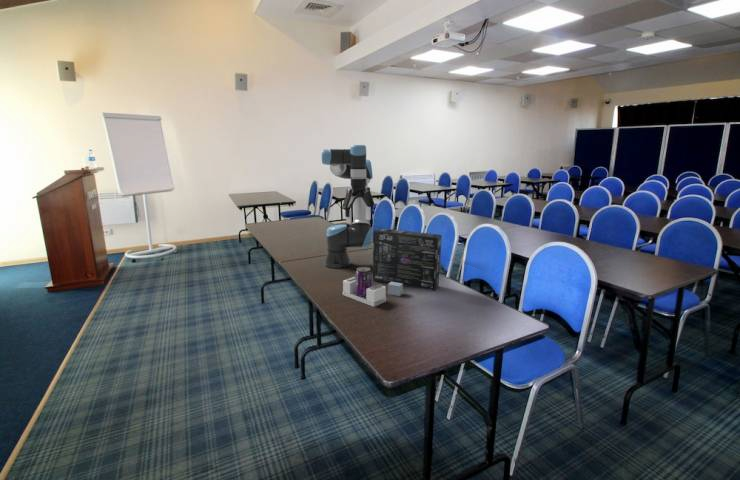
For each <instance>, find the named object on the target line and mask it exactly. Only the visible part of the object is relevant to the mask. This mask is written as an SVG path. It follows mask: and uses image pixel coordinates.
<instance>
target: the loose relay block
mask: <svg viewBox="0 0 740 480" xmlns="http://www.w3.org/2000/svg"><path fill="white" fill-rule="evenodd" d="M403 294H404V285H403V284H402V283H397V282H390V283H387V295H390V296H395V297H401V296H402V295H403Z"/></svg>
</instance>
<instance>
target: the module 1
mask: <svg viewBox="0 0 740 480" xmlns="http://www.w3.org/2000/svg"><path fill="white" fill-rule="evenodd" d="M342 288H343V289H342V292H343V291H345V292H348V293H352V292H355V291H356V276H353V277H350V278H349V277H348V278H347V279H344V280H342Z"/></svg>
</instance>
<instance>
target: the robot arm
mask: <svg viewBox="0 0 740 480" xmlns="http://www.w3.org/2000/svg"><path fill="white" fill-rule="evenodd" d="M321 162H322V164H323V165H326V166H329V169H330V173H332V174H333V175H334V176H335V177H338V178H341V179H344V180H345V179H346V180H347V179H348V180H350V186H351V189H350V188H346V194H345V197H344V200H343V203H342V206H341V210H344V211H345V213H344V216H345V217H346V218H345V220H346V224H348V225H350V227H348V226H347V225H346V224H336V225H332V226H329V227H328V228H327V229H326V248H327V249H326V250H327V251H326V252H327V253H326V256H325V259H324V266H325V267H326V266H327V267H326V268H330V267H331V268H330V269H343V268H342V267H344V268H346V267H349V266H350V265H351V259H350V256H349V253H348V248H362V249H364V248H370V247H371V245H372V241H373V240H372V239H373V231H374V227H372V226H371V223H370V222H369V221H371V220H372V218H371V217H372V216H371V215H372V208H373V207H374V206H375V200H374V198H373V196H372V193H371V188H370V187H369V186H368V185H369V184H370V182H371V180H372V179H373V169H372V162H371V161H370V159H367V146H366V145H365V144H351V146H350V148H346V149H345V148H343V149H341V148H339V149H338V148H333V149H332V148H327V149H325V148H324V149H322V150H321ZM352 206H353V207H352ZM351 208H353V209H352V210H353V213H352V210H351ZM352 214H353V215H352ZM352 217H353V219H352ZM352 220H353V221H352Z"/></svg>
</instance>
